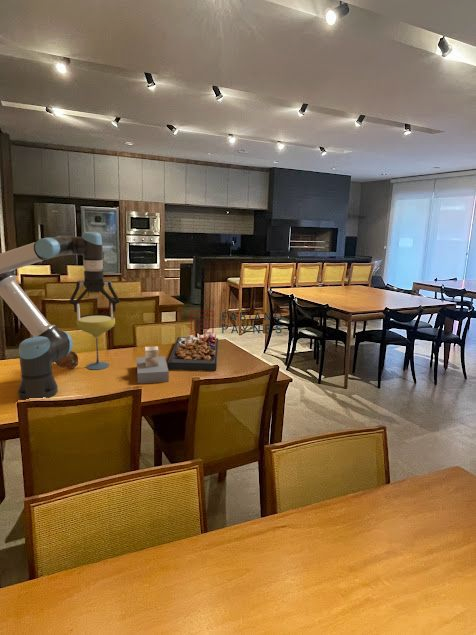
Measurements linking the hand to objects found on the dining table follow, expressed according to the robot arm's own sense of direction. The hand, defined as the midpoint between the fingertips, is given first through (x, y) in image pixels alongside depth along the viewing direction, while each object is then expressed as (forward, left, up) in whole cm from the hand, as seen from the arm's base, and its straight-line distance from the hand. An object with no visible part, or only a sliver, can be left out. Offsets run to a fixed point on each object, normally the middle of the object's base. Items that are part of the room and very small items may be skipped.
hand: (95, 319), depth 179 cm
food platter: (+49, +35, -31) cm, 68 cm away
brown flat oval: (-17, +28, -31) cm, 45 cm away
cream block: (+24, +11, -26) cm, 37 cm away
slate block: (+24, +11, -31) cm, 40 cm away
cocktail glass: (-2, +26, -31) cm, 40 cm away
